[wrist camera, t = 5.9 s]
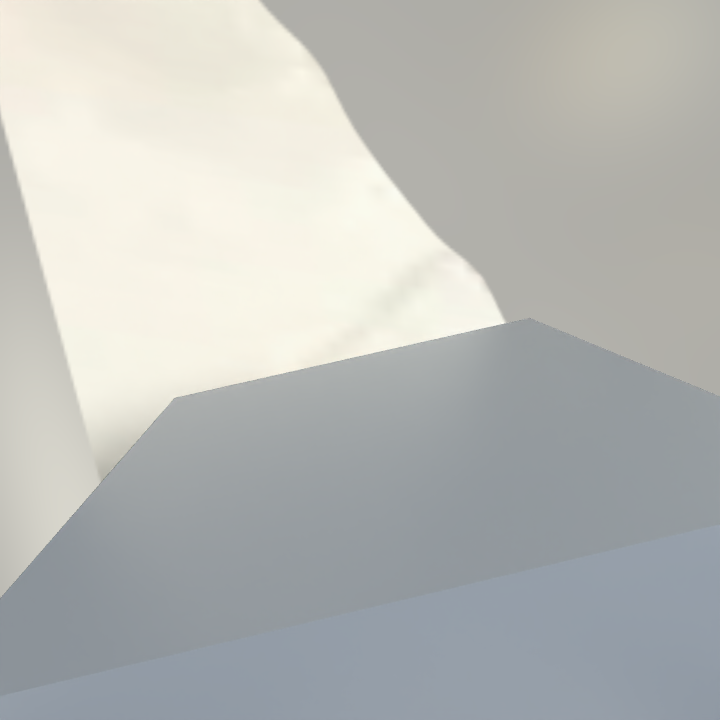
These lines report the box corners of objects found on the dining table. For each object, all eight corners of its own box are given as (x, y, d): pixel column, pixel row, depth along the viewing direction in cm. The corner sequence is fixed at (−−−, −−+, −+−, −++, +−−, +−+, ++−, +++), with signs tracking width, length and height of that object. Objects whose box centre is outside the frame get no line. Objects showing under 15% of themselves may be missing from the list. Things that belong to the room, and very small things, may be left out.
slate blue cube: (559, 603, 16) (832, 1025, 7) (269, 672, 16) (211, 1190, 7) (529, 318, 13) (917, 477, 5) (174, 398, 13) (-107, 722, 4)
